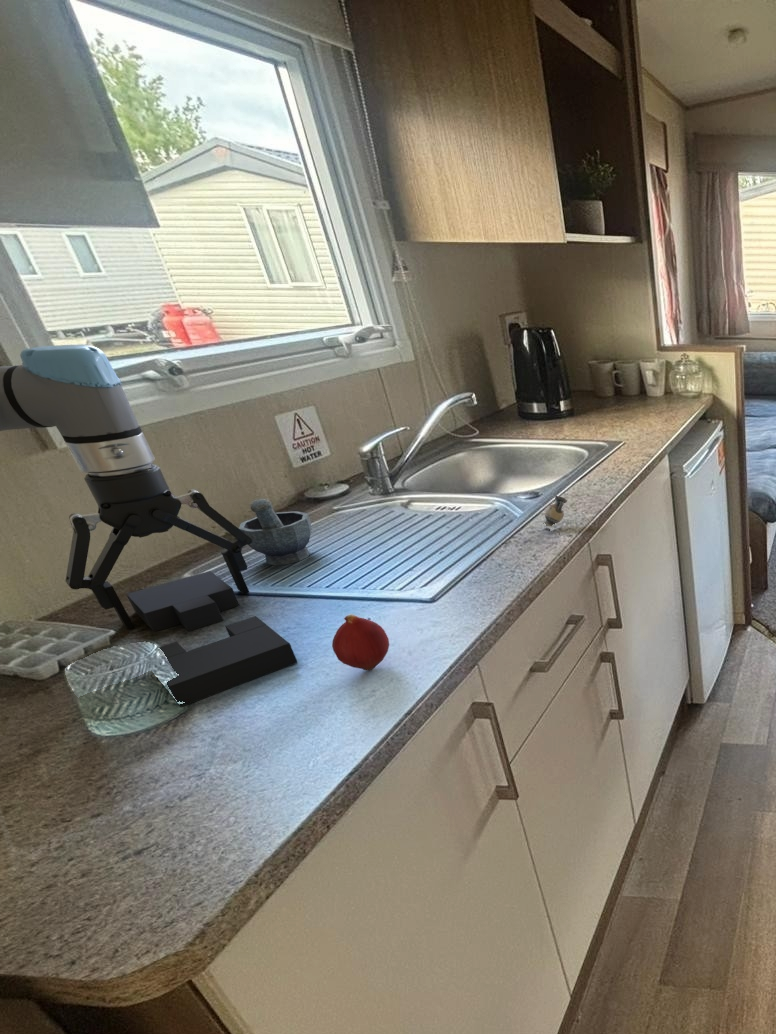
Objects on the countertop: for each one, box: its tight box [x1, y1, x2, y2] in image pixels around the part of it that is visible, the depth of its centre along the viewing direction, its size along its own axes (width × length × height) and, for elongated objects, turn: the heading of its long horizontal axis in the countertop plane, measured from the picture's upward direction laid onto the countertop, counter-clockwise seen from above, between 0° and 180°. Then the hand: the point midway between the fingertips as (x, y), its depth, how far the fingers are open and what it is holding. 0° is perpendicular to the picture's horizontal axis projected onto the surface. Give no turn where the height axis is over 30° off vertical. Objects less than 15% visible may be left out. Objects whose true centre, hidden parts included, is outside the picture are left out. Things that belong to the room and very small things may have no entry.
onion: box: [331, 614, 390, 671], centre depth 82 cm, size 6×6×8 cm
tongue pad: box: [125, 570, 240, 633], centre depth 96 cm, size 14×10×3 cm
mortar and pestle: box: [238, 498, 313, 566], centre depth 111 cm, size 11×9×12 cm
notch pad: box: [158, 615, 298, 708], centre depth 83 cm, size 12×12×3 cm
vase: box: [537, 495, 568, 533], centre depth 127 cm, size 5×5×6 cm
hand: (189, 607), depth 98 cm, fingers open, 13 cm apart
